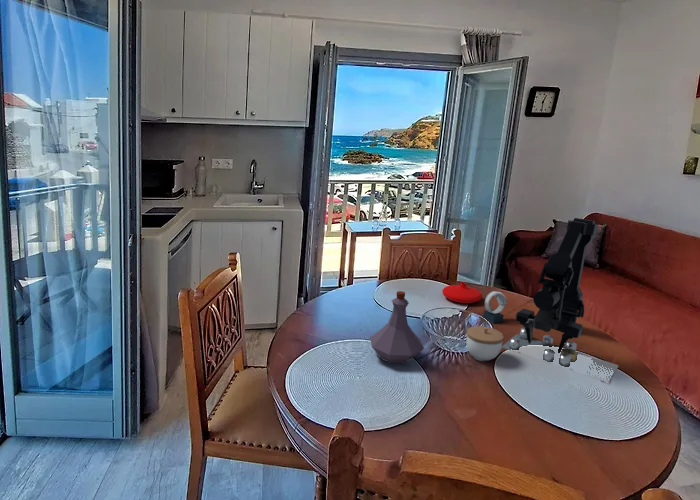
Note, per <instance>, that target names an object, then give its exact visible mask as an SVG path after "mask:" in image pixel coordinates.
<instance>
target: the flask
mask: <svg viewBox="0 0 700 500" xmlns="http://www.w3.org/2000/svg"><path fill="white" fill-rule="evenodd" d="M405 297H406V292H405V291H402V290H400V291H399V290H398V291H396V297H395V298H393V299H391V302H392V305H393V308H392V312H391V314H390V317H389V319H388V322H387V323H386V324H385V325H384V326H383V327H382V328H380V329H379V330H378V331H377V332H375V333H374V334H373V335H371V336H370V337H369V340H370V344H371V348H372V349H373V350H374V352H375V353H376V354H377V355H378V356H379V358H380V359H381V358H382V359H381V360H383V359H384V361H386V362H387V363H390V362H391V363H390V364H405V363H407V362H409V361H410V359H411V360H412V359H413V358H414V357H416V356H417V355H418V354H419V353H421V352H422V351H423V350H424V349H425V348H424V344H423V343H422V341H421V339H420V338H419V336H418V335H417V334H416V333H415V331H413V329H412V328H411V327H410V326H409V324H408V317H407V307H408V306H409V303H410V302H409V301H408V300H407V299H406V298H405Z"/></svg>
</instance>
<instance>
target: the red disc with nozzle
mask: <svg viewBox="0 0 700 500" xmlns="http://www.w3.org/2000/svg"><path fill="white" fill-rule="evenodd" d="M441 291H442V292H441V293H442V295H443V296H444V297H445V298H447V299H448V300H450V301H453V302H455V303H461V304H473V303H475V302H479V301H481V300H482V297H483V294H482V292H481V291H479V289H477V288H474V287H471V286H468V285H467V283H466V282H463V281H462V282H460V284H452V285H451V284H450V285H447V286H444V287H443V288H442V290H441Z"/></svg>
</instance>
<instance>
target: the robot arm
mask: <svg viewBox="0 0 700 500" xmlns="http://www.w3.org/2000/svg"><path fill="white" fill-rule="evenodd" d="M595 221H596V220H592V219H585V218H578V217H574V219H573V220H571V219H570V220H569V219H568V220H567V225H566V229H565V234H564V237H563V238H562V241H561V243H560V245H559V246H558V247H559V248H558V250H557V251H556V252H555V253H554V254H551V255H550V256H549V258H548V259H547V261H546V262H545V263H543V264H544V265H543V267H542V270H541V272H540V275H539V278H538V280H537V283H538V284H542V288H541V289H539V290H538V291H537V292H536V293H534V295H533V298H532V299H533V303H534V305H535V306H536V308H538V312H537V313H535V310H531V309H528V308H522V309H520V310H519V311H518V312H516V314H515V320H514V321H516V322H519V324H520V325H522V326H523V328H525V330H526V334H527V338H528V343H529V344H530V343H531V341H532V339H533V335H534V329H535V330H540V331H543V332H544V333H549V332H550V331H551V329H552V330H553V329H554V330H557V331H559V332H563V333H562V335H561V339H560V342H559V346H558V347H559V349H558V353H560V352H561V350H562V348H565V346H566V342H568V341H569V340H573V339H579V337H580V336H581V335H582V334H583V330H584V327H583V324H581V323H578V322H577V318H578V319H579V318H584V316H585V303H584V300H583V299H584V298H583V297H584V294H583V291H582V289H581V287H580V286H581V285H580V284H581V279H582V274H583V269H584V263H585V258H586V253H587V248H588V245H589V244H591V242H593V240H594V238H595V236H596V235H597V233H598V230H599V229H598V228H599V225H598V224H596V222H595Z"/></svg>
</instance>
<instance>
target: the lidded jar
mask: <svg viewBox="0 0 700 500" xmlns="http://www.w3.org/2000/svg"><path fill="white" fill-rule="evenodd" d="M504 338H505V337H504V334H503V333H502V332H501V331H499V330H498V329H496V328H493V327H488V326H482V325H481V326H480V325H474V326H470V327H468V328H467V329H466V343H465V344H466V348H467V350H468V351H467V352H469V354H470V355H471V356H472V358H473V359H475V360H477V361H479V362H486V361H491V360H493V359H495V358H496V357H497V356H499V354H500V352H501V350H502V346H503V343H504V340H505V339H504Z"/></svg>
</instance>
